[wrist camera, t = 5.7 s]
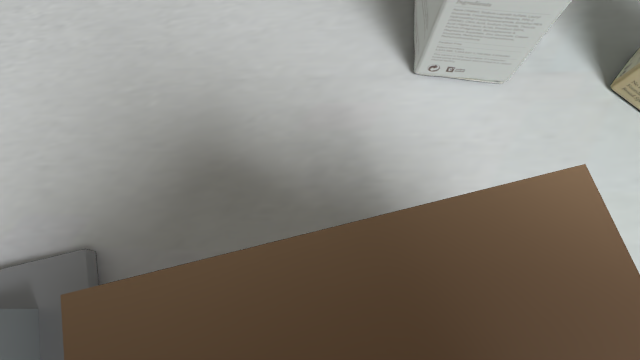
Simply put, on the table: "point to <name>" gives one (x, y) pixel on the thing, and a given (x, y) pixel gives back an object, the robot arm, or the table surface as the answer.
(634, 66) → the skincare box
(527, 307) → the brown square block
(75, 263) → the housing
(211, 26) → the table surface
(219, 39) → the table surface
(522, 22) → the skincare box
